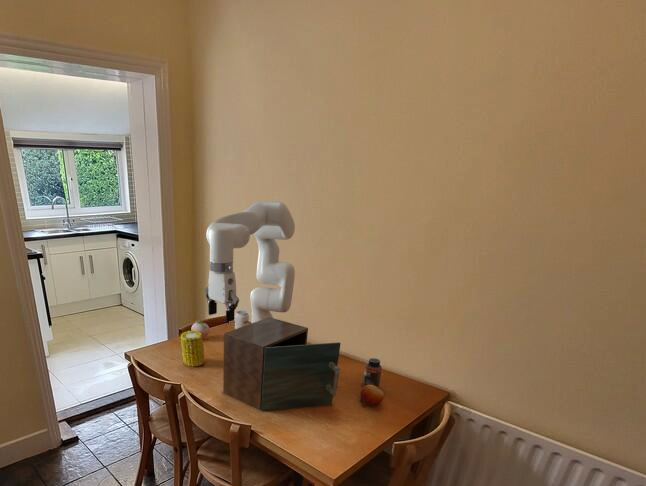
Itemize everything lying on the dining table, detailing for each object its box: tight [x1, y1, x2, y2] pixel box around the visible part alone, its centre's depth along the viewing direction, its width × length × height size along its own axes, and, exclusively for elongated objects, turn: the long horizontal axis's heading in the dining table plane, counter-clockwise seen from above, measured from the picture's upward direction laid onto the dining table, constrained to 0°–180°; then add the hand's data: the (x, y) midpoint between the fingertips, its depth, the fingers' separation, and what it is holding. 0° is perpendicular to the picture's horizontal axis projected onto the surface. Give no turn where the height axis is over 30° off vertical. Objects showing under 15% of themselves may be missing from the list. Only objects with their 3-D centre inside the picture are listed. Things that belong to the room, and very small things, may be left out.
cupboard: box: [222, 317, 309, 411], centre depth 153 cm, size 18×26×24 cm
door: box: [260, 342, 341, 412], centre depth 138 cm, size 6×26×24 cm, turn 99°
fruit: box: [359, 385, 385, 407], centre depth 147 cm, size 8×8×8 cm
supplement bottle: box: [362, 357, 383, 388], centre depth 157 cm, size 6×6×11 cm
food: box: [180, 329, 206, 367], centre depth 177 cm, size 15×12×10 cm
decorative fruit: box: [190, 319, 211, 339], centre depth 204 cm, size 9×8×10 cm
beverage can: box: [234, 310, 250, 330], centre depth 210 cm, size 7×7×12 cm
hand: (221, 317), depth 140 cm, fingers open, 9 cm apart
